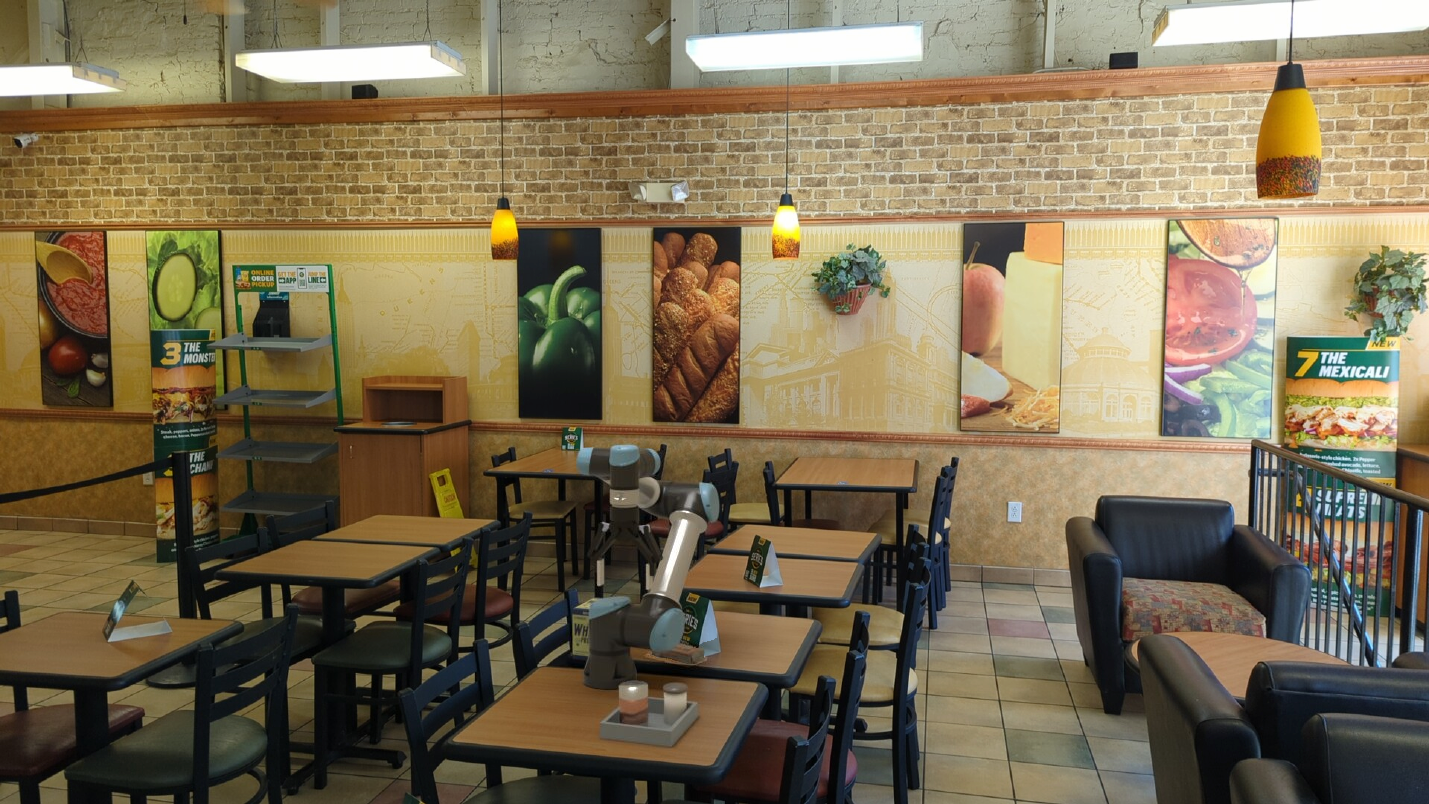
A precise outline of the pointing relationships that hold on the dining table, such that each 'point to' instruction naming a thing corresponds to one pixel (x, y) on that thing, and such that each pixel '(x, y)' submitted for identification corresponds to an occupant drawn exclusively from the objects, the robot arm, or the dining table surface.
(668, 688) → the cup lid
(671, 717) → the capped white cylinder
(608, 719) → the grey tray
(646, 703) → the clear orange banded jar
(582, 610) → the protein box
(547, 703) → the dining table surface
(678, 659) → the packaged product
